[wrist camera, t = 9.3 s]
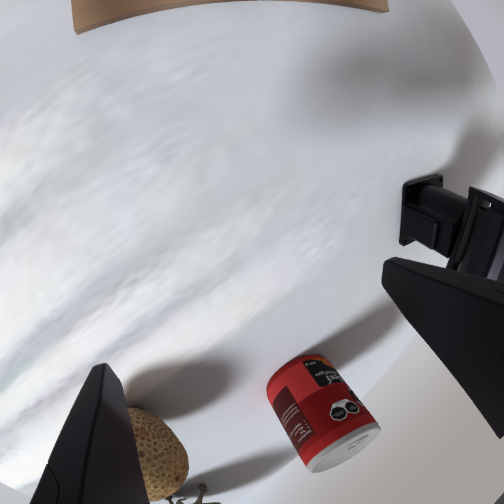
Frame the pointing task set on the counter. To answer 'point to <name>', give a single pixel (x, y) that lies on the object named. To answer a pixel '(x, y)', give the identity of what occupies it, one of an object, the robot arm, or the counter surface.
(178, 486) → the natural sponge
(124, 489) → the robot arm
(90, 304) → the counter surface
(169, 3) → the onion holder
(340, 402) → the canned food
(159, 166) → the counter surface
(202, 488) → the tabletop clock
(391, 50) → the counter surface
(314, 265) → the counter surface
